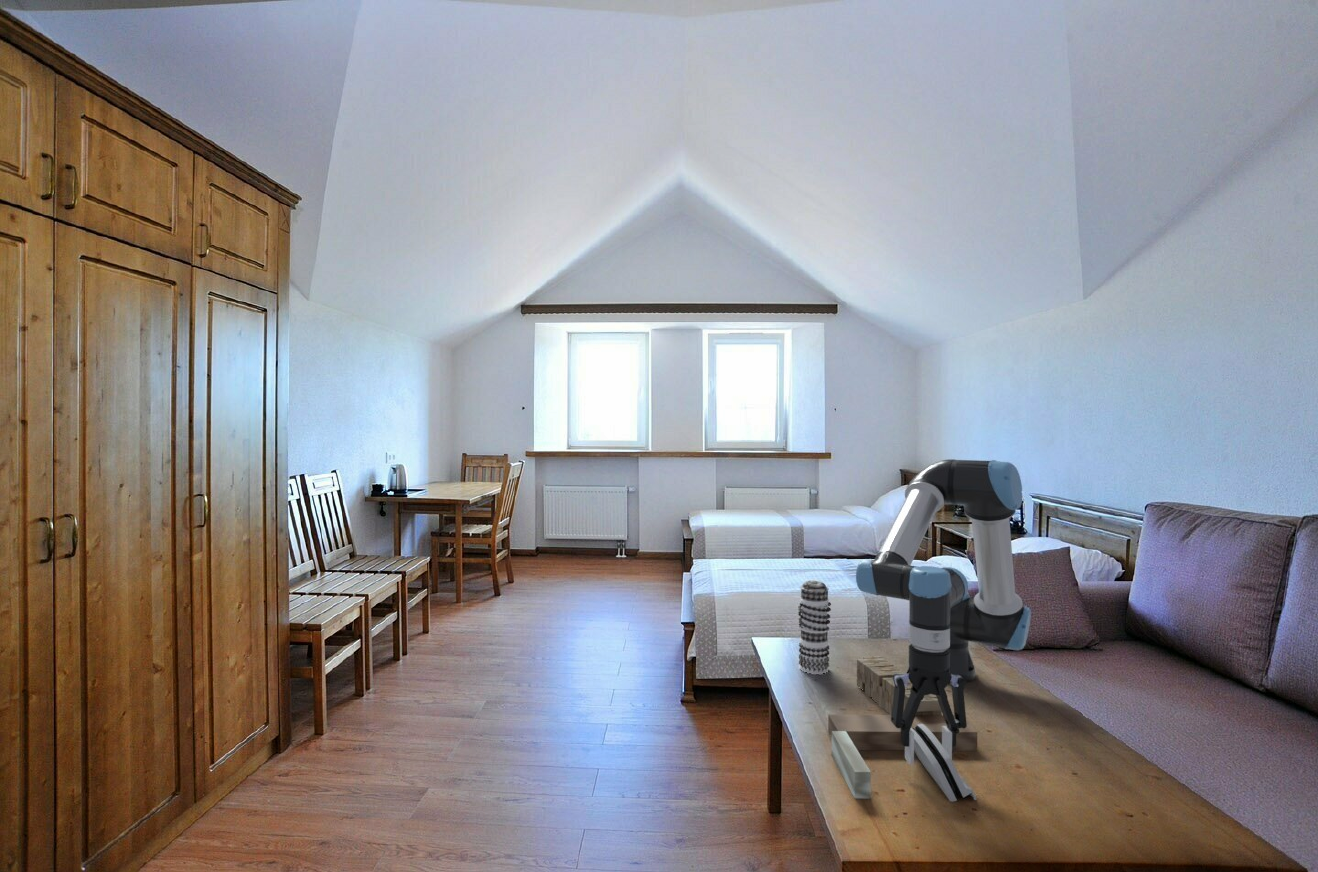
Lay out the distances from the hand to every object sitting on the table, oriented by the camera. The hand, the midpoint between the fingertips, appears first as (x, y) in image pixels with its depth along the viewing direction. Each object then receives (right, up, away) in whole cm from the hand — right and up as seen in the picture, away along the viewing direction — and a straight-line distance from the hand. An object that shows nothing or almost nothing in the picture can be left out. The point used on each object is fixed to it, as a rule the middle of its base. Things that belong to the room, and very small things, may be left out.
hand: (928, 761), depth 126 cm
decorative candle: (-9, -3, +57) cm, 57 cm away
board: (-1, -3, +6) cm, 7 cm away
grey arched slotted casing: (+2, -4, 0) cm, 4 cm away
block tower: (+6, -3, +32) cm, 33 cm away
